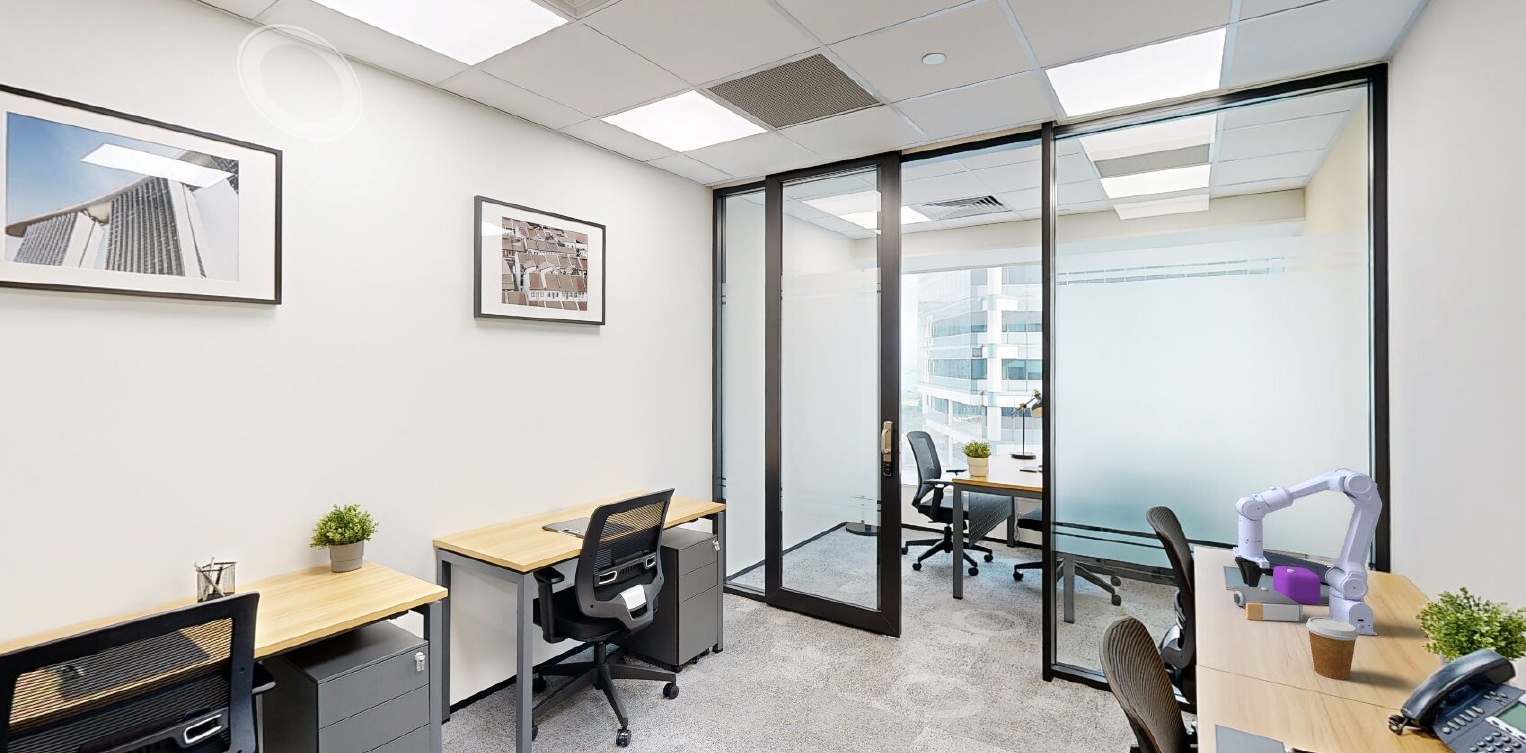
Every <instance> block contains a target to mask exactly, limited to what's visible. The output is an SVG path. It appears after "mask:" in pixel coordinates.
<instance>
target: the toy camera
mask: <svg viewBox="0 0 1526 753" xmlns="http://www.w3.org/2000/svg"><path fill="white" fill-rule="evenodd" d="M1272 572H1273V574H1272V578H1273V580H1272V581H1273V582H1272V584H1273V588H1272V589H1274V590H1275V591H1277V592H1279V593H1281V594H1283V595H1284V596H1286V597H1288V598H1290V599H1292V600H1293V601H1295V602H1297V603H1299V604H1300V605H1302V604H1303V605H1318V604H1320V603H1321V582H1320V577H1319V576H1318V575H1316V574H1315V573H1313V572H1311V571H1310V570H1308V569H1306V568H1301V567H1287V566H1276V567H1274V569H1273V571H1272Z"/></svg>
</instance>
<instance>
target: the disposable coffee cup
mask: <svg viewBox="0 0 1526 753" xmlns="http://www.w3.org/2000/svg"><path fill="white" fill-rule="evenodd" d="M1305 627H1306V629H1307V630H1308V636H1309V637H1308V638H1309V642H1310V649H1311V656H1312V661H1313V662H1312V663H1313V667H1314V668H1313V669H1314V671H1315V672H1316V673H1317V674H1318V675H1321V676H1323V677H1327V678H1329V679H1333V680H1342V681H1343V680H1349V679H1350V675H1351V668H1352V663H1353V658H1354V652H1355V647H1356V646H1355V645H1356V642H1357V641H1356V640H1357V639H1358V637H1359V635H1360V634H1358V632H1357V631H1356V628H1355V627H1354V626H1353V625H1351V624H1349V623H1347V622H1343V621H1340V620H1336V619H1331V618H1329V617H1322V616H1313V617H1309V618H1308V620H1307V622H1306V623H1305Z"/></svg>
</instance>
